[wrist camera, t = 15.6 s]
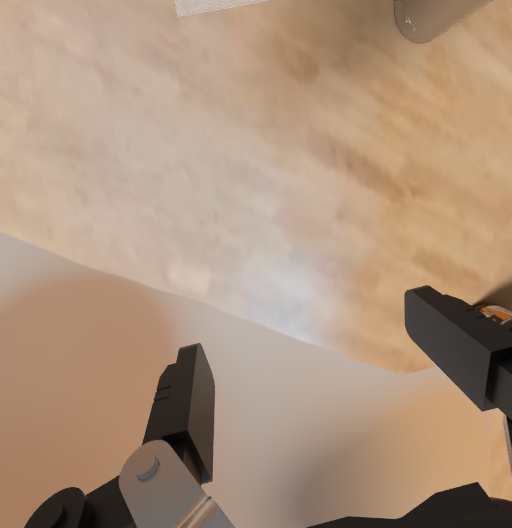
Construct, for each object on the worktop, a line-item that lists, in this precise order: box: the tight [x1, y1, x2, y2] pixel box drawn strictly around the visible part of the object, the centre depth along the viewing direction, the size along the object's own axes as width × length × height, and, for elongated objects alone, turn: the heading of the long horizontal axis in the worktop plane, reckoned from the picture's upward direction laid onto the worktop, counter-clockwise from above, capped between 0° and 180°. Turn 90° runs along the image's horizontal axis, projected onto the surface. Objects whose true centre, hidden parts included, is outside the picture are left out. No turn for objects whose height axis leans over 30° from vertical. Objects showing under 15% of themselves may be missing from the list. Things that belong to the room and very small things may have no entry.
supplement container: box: [474, 303, 512, 332], centre depth 53 cm, size 10×10×12 cm
